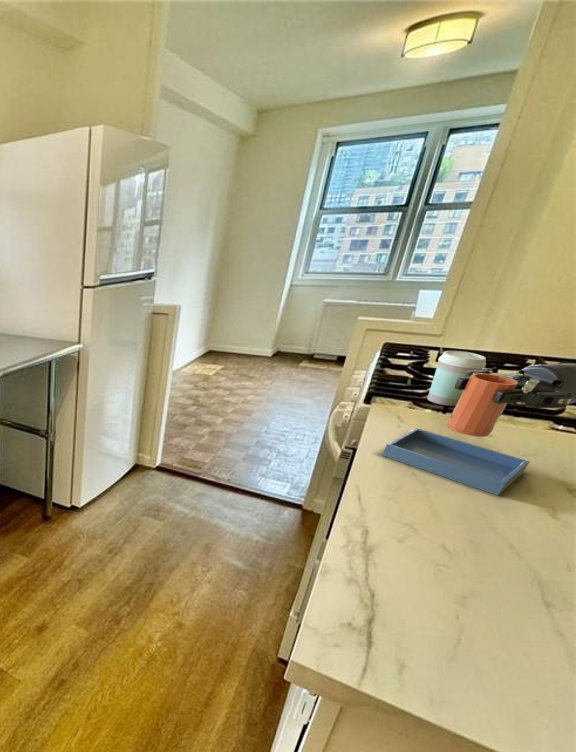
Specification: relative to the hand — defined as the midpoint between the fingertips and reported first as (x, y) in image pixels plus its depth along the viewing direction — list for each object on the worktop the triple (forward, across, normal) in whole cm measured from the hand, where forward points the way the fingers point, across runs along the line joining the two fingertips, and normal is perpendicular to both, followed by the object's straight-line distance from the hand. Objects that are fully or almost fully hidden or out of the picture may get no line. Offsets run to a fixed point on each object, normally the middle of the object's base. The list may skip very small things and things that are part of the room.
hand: (477, 390), depth 85 cm
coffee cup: (-33, -27, +16) cm, 45 cm away
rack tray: (-2, 0, +15) cm, 15 cm away
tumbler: (-2, 0, +8) cm, 8 cm away
